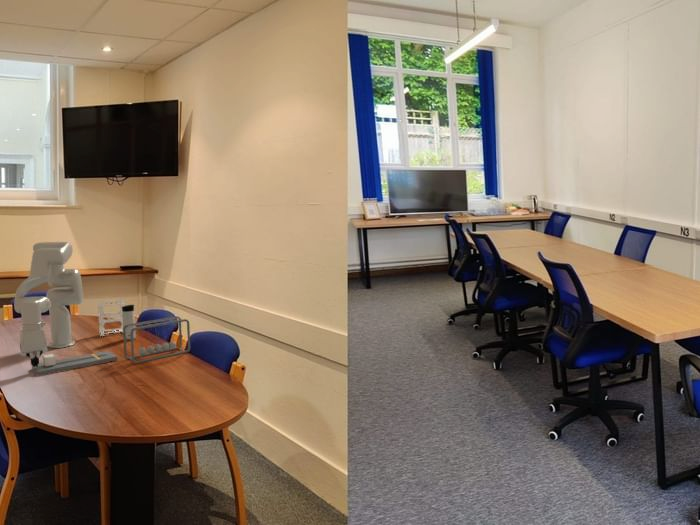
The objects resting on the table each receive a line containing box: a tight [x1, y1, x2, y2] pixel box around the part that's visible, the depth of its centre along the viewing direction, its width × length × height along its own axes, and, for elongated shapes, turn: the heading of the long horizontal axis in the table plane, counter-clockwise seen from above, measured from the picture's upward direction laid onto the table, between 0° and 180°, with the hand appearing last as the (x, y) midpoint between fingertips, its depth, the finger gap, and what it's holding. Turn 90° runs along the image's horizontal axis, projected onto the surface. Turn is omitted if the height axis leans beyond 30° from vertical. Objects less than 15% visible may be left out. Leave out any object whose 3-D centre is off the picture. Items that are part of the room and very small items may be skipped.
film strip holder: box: [97, 299, 126, 337], centre depth 300 cm, size 14×14×20 cm
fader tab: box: [42, 353, 56, 366], centre depth 234 cm, size 5×4×4 cm
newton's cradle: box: [122, 315, 191, 365], centre depth 255 cm, size 30×10×18 cm, turn 134°
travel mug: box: [122, 304, 137, 342], centre depth 286 cm, size 6×7×20 cm
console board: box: [31, 350, 118, 377], centre depth 242 cm, size 13×34×2 cm, turn 132°
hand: (35, 366), depth 231 cm, fingers closed
